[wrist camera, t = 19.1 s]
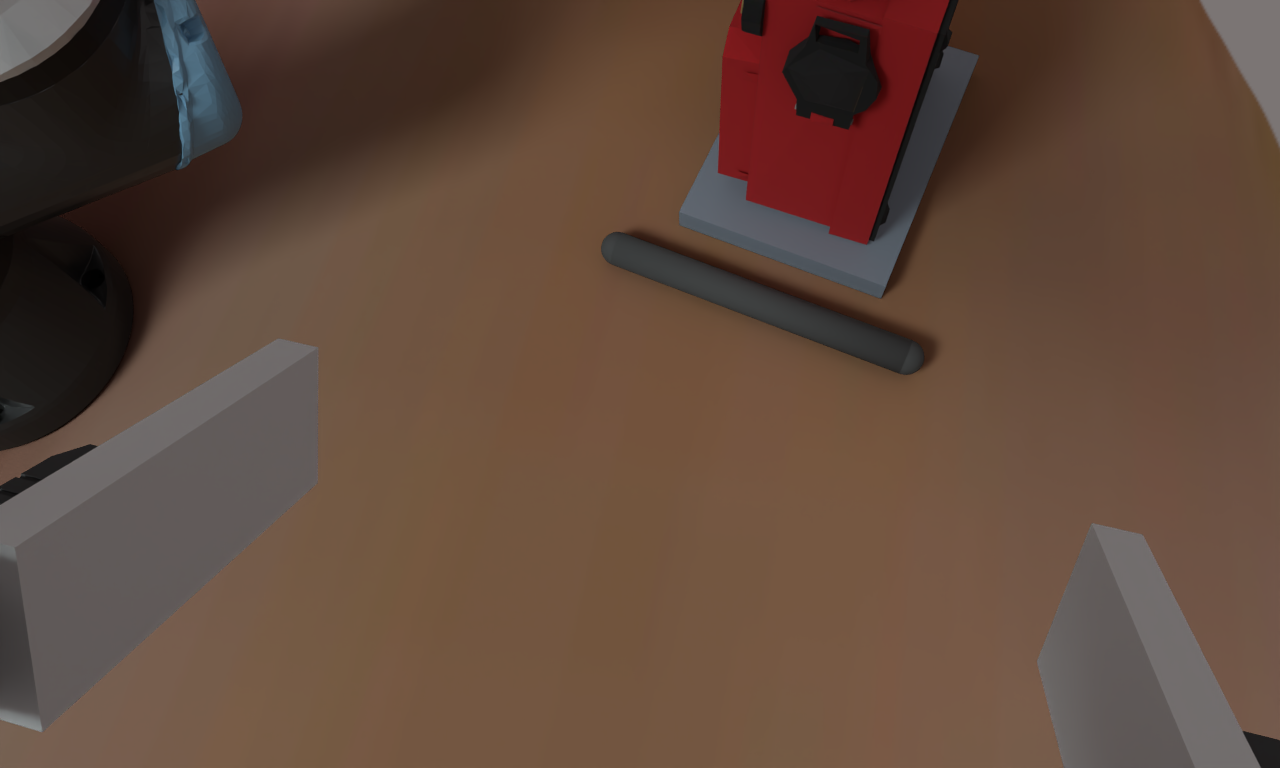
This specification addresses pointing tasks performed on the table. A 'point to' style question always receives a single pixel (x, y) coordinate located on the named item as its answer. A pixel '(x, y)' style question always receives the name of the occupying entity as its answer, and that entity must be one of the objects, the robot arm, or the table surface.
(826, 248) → the board
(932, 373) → the table surface
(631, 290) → the table surface
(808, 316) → the rod
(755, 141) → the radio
